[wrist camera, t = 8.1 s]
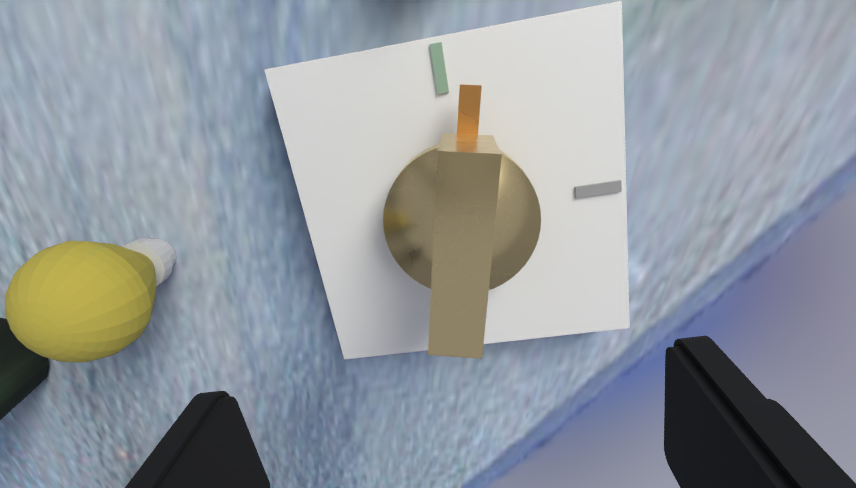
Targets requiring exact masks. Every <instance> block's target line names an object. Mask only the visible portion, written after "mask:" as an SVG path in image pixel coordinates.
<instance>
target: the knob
mask: <svg viewBox="0 0 856 488" xmlns="http://www.w3.org/2000/svg"><path fill="white" fill-rule="evenodd" d="M481 88H482V85H467V84H460V88H459V104H458V121H457V134H452V133H442V135H441V139H440V142H439V144H437V145H434V146H432V147H430V148H427V149H425V150H424V151H422V152H421V153H419V154H417V155H416V156H415V157H414V158H412V159H411V160H410V161H409V162H408V163H407V164H406V165H405V166H404V167H403V169H402V170H401V172H400V173H399V174H398V176H397V178H396V179H395V181H394V183H393V185H392V187H391V189H390V190H389V193H388V196H387V198H386V202H385V206H384V212H383V229H384V234H385V239H386V242H387V245H388V248H389V250H390V252H391V254H392V256H393V258H394V259H395V260H396V262H397V263H398V265H399V266H400V267H401V268H402V269H403V270H404V272H405V273H407V274H408V275H409V276H410V277H411V278H412V279H414V280H415V281H417V282H418V283H420V284H422V285H424V286H426V287H427V288H430V289H431V298H430V320H429V341H428V355H437V356H451V357H465V358H480V359H482V355H483V345H484V334H485V324H486V314H487V303H488V293H489V290H491V289H494V288H496V287H498V286H500V285H502V284H504V283H505V282H507V281H508V280H510V279H511V278H512V277H514V276H515V275H516V274H517V273H518V272H519V271H520V270H521V269H522V268H523V267H524V266H525V264H526V263H527V262H528V260H529V259H530V257H531V255H532V253H533V252H534V250H535V247H536V245H537V242H538V239H539V234H540V229H541V210H540V205H539V200H538V197H537V194H536V192H535V189H534V187H533V186H532V184H531V182H530V180H529V179H528V177H527V175H526V174H525V172H524V171H523V170H522V168H521V167H520V166H519V165H518V164H517V163H516V162H515V161H514V160H513V159H512V158H511V157H510V156H508V155H507V154H506V153H504V152H502V151H501V150H500V149H499V147H498V145H497V143H496V141H495V139H494V137H493V135H478V127H479V114H480V101H481Z"/></svg>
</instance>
